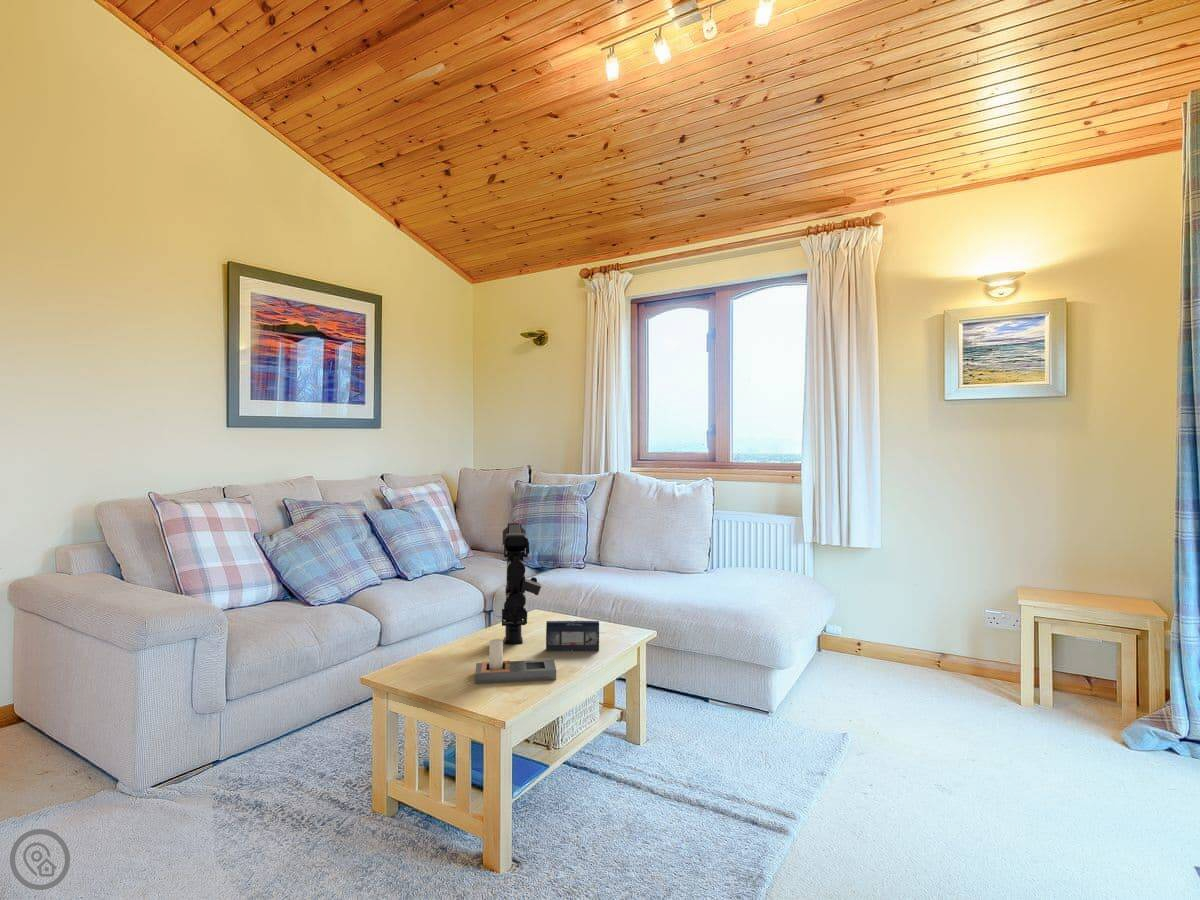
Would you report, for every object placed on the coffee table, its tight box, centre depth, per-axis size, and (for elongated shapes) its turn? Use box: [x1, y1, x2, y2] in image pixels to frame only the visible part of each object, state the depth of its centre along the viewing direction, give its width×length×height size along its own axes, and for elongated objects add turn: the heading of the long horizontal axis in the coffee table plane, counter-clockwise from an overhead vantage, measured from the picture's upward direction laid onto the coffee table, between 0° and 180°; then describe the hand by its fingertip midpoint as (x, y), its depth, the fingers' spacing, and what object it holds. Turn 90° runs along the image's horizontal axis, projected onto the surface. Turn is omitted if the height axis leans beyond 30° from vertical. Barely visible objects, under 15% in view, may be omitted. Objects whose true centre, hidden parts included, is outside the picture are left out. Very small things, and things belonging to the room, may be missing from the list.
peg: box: [488, 638, 504, 670], centre depth 185 cm, size 4×4×11 cm
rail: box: [474, 658, 557, 685], centre depth 186 cm, size 9×24×3 cm, turn 99°
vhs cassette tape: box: [545, 620, 600, 652], centre depth 209 cm, size 18×3×10 cm, turn 91°
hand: (514, 619), depth 200 cm, fingers open, 9 cm apart
